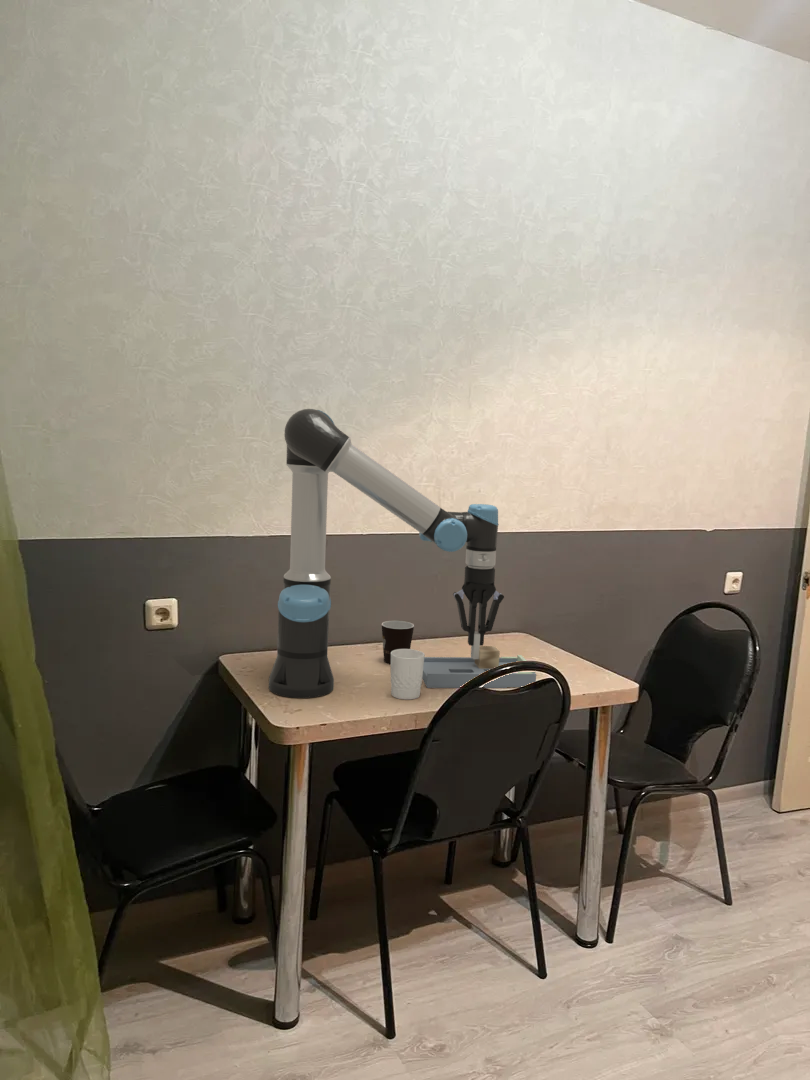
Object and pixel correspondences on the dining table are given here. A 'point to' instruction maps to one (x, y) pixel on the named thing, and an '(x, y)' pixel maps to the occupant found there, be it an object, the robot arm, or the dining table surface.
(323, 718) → the dining table surface
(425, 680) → the box
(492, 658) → the block
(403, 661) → the white cup
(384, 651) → the coffee mug
